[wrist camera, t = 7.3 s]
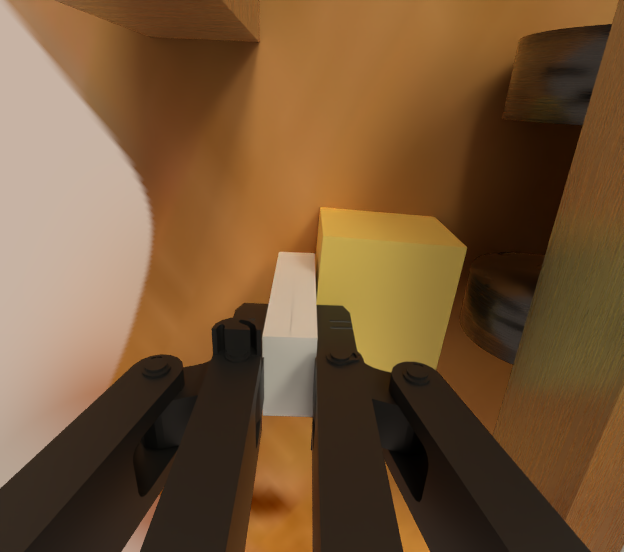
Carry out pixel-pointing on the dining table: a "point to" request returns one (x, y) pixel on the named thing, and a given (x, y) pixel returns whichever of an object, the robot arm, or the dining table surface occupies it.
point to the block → (389, 281)
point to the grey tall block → (180, 17)
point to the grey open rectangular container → (566, 291)
